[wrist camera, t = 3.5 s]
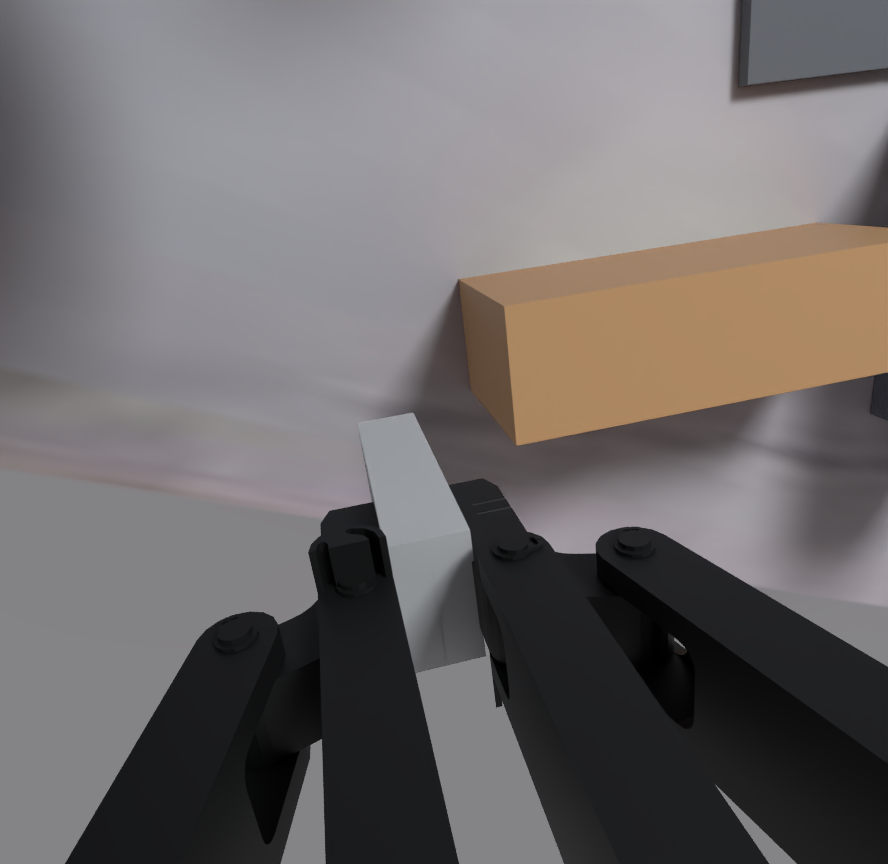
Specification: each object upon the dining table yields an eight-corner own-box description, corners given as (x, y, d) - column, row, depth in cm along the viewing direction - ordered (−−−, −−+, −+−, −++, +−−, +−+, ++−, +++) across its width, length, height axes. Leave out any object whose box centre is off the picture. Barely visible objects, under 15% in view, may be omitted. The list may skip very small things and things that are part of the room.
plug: (470, 389, 29) (516, 445, 23) (457, 278, 28) (504, 306, 21) (876, 315, 32) (1017, 346, 26) (889, 210, 31) (1045, 216, 24)
